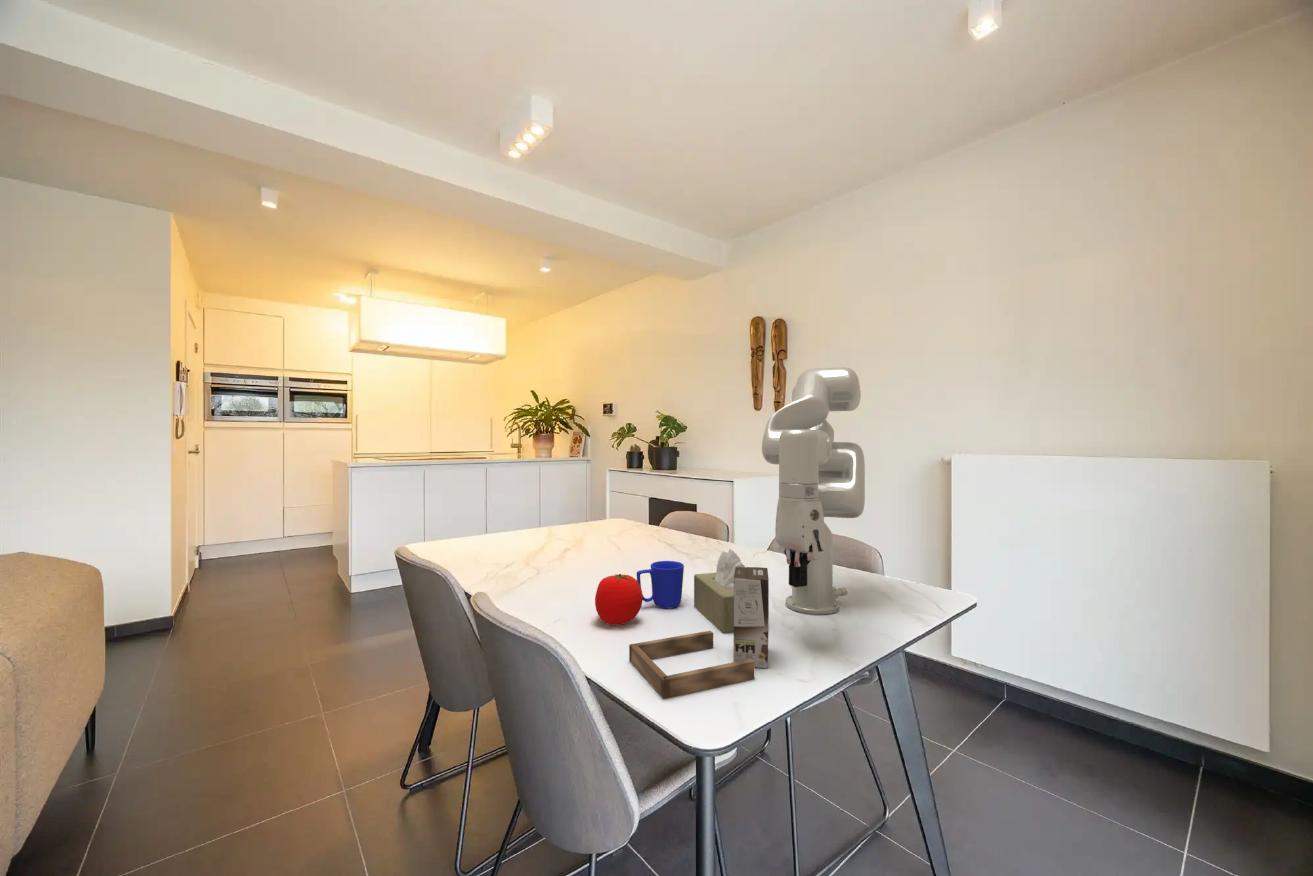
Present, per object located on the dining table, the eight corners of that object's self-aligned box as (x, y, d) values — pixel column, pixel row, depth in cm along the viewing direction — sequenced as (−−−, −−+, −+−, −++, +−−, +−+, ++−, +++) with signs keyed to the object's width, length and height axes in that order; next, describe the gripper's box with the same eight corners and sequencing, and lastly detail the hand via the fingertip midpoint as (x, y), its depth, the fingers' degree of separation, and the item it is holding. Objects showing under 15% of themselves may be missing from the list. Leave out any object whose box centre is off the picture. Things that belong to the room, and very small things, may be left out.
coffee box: (768, 669, 94) (768, 579, 94) (732, 666, 95) (732, 577, 95) (768, 648, 103) (768, 566, 103) (735, 646, 104) (735, 565, 104)
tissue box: (765, 630, 113) (765, 557, 113) (723, 635, 110) (723, 560, 110) (730, 603, 131) (730, 540, 131) (693, 606, 128) (693, 542, 128)
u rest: (710, 645, 104) (710, 630, 104) (754, 678, 90) (754, 661, 90) (629, 660, 97) (629, 644, 97) (663, 699, 83) (663, 680, 83)
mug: (631, 604, 129) (631, 564, 129) (675, 598, 134) (675, 559, 134) (643, 614, 122) (643, 572, 122) (689, 608, 127) (689, 566, 127)
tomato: (584, 624, 116) (584, 575, 116) (614, 610, 125) (614, 565, 125) (622, 634, 110) (622, 583, 110) (650, 619, 119) (650, 572, 119)
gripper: (840, 495, 98) (840, 593, 97) (789, 488, 111) (789, 575, 111) (808, 496, 95) (807, 598, 94) (760, 489, 108) (759, 578, 108)
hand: (797, 585), depth 103 cm, fingers closed
